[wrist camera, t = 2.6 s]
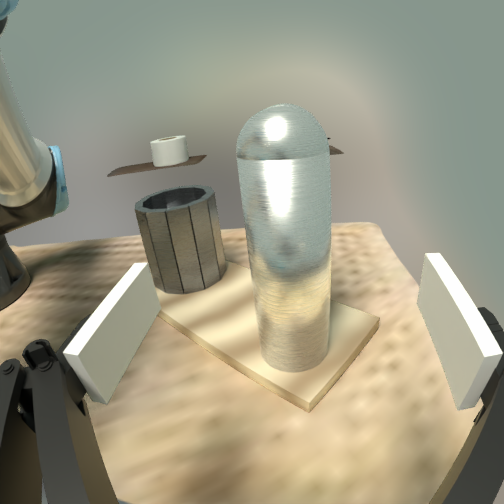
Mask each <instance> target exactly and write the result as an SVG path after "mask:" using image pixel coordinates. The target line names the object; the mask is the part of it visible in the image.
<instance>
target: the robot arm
mask: <svg viewBox="0 0 504 504" xmlns="http://www.w3.org/2000/svg"><path fill="white" fill-rule="evenodd" d="M18 1H19V0H0V38H1V36H2V34H3V33H4V31H5V29H6V26H7V22H8V15H9V14H10V13H11V12H12V11H13V10H14V9H15V8H16V6H17V4H18ZM68 205H69V199H68V193H67V187H66V181H65V175H64V168H63V162H62V157H61V151H60V148H59V147H58V146H49V147H47V146H46V145H45V144H44V143H43V142H41V141H40V140H38V139H36V138H33V137H32V135H31V132H30V130H29V128H28V125H27V123H26V120H25V118H24V115H23V113H22V110H21V108H20V106H19V103H18V100H17V98H16V95H15V92H14V90H13V87H12V84H11V81H10V78H9V76H8V73H7V69H6V66H5V63H4V60H3V57H2V54H1V50H0V310H1V309H3V308H4V307H6V306H8V305H9V304H11V303H12V302H13V301H15V300H16V299H17V298H18V297H19V296H20V295H21V294H22V293H23V292H24V291H25V290H26V288H27V287H28V285H29V283H30V276H29V274H28V272H27V269H26V267H25V266H24V265H23V263H22V262H21V261H20V260H19V258H18V257H17V256H16V254H15V253H14V252H13V251H12V249H11V248H10V247H9V245H8V243H7V241H6V238H5V235H4V234H5V233H8V232H11V231H13V230H16V229H18V228H21V227H23V226H26V225H29V224H31V223H34V222H37V221H39V220H42V219H45V218H48V217H54V216H55V215H56V214H58V213H61V212H63V211H65V210H66V209H67V208H68ZM417 305H418V307H419V310H420V312H421V314H422V316H423V319H424V321H425V324H426V326H427V328H428V331H429V333H430V336H431V338H432V341H433V343H434V346H435V348H436V351H437V354H438V356H439V359H440V361H441V364H442V367H443V370H444V372H445V375H446V378H447V381H448V384H449V387H450V390H451V393H452V396H453V399H454V402H455V405H456V408H457V411H458V410H463V409H468V408H472V407H475V405H476V404H477V402H478V400H479V399H480V397H481V399H482V401H483V404H484V405H483V407H482V408H481V410H480V412H479V413H478V415H477V416H476V418H475V419H474V421H473V422H475V423H474V425H473V427H472V430H471V432H470V434H469V436H468V438H467V440H466V442H465V444H464V446H463V447H462V449H461V451H460V453H459V455H458V457H457V459H456V460H455V462H454V464H453V466H452V467H451V469H450V471H449V473H448V474H447V476H446V478H445V479H444V481H443V482H442V484H441V486H440V487H439V489H438V490H437V492H436V494H435V495H434V497H433V498H432V500H431V501H430V503H429V504H493V501H494V499H495V497H496V495H497V493H498V491H499V488H500V487H501V484H502V482H503V480H504V332H503V329H502V328H501V326H500V325H499V323H498V321H497V320H496V318H495V316H494V315H493V314H492V313H491V312H490V311H488V310H487V309H486V308H485V307H482V308H476V306H475V304H474V303H473V301H472V300H471V298H470V297H469V295H468V294H467V292H466V290H465V289H464V287H463V286H462V284H461V283H460V281H459V280H458V278H457V277H456V276H455V274H454V273H453V271H452V270H451V268H450V267H449V265H448V264H447V263H446V261H445V260H444V258H443V257H442V256H441V254H440V253H428V254H425V259H424V265H423V271H422V277H421V283H420V289H419V294H418V299H417ZM160 310H161V306H160V302H159V299H158V296H157V293H156V289H155V286H154V283H153V279H152V276H151V272H150V269H149V265H148V263H134V264H133V266H132V267H131V268H130V269H129V270H128V271H127V273H126V274H125V275H124V276H123V277H122V279H121V280H120V281H119V282H118V283H117V285H116V286H115V287H114V288H113V289H112V291H111V292H110V293H109V294H108V295H107V297H106V298H105V299H104V300H103V302H102V303H101V304H100V305H99V306H98V308H97V309H96V310H95V311H94V313H93V314H90V315H88V316H87V317H86V318H84V319H83V320H82V321H81V322H80V323H79V324H78V325H77V327H76V328H75V330H73V332H72V333H71V334H70V335H71V336H69V337H68V338H67V339H66V341H65V342H64V343H63V344H62V346H61V347H60V348H59V350H58V351H57V352H56V354H55V352H54V351H53V349H52V347H51V345H50V343H49V342H48V341H47V340H45V339H39V340H35V341H33V342H32V343H30V344H29V345H28V346H26V348H25V349H24V351H23V353H22V356H23V358H24V359H25V361H26V362H27V364H28V365H29V367H23V366H22V365H21V363H20V362H19V360H17V359H9V360H6V361H5V362H3V363H2V365H1V366H0V504H42V503H41V502H42V501H41V499H42V497H41V496H42V478H43V483H44V488H45V492H46V497H47V501H48V504H119V503H118V500H117V498H116V495H115V493H114V490H113V488H112V485H111V482H110V480H109V477H108V474H107V471H106V468H105V466H104V463H103V460H102V457H101V454H100V450H99V447H98V444H97V441H96V437H95V434H94V431H93V427H92V423H91V420H90V416H89V412H88V408H87V404H86V402H85V400H84V399H83V397H84V395H85V393H86V392H87V393H88V395H89V396H90V398H91V399H92V401H95V402H99V403H103V404H108V402H109V400H110V398H111V396H112V395H113V393H114V391H115V389H116V387H117V385H118V384H119V382H120V380H121V378H122V376H123V374H124V373H125V371H126V369H127V367H128V365H129V364H130V362H131V360H132V358H133V356H134V355H135V353H136V351H137V349H138V348H139V346H140V344H141V342H142V341H143V339H144V337H145V335H146V334H147V332H148V330H149V328H150V327H151V325H152V323H153V321H154V320H155V318H156V316H157V315H158V313H159V311H160ZM18 405H19V406H20V407H21V410H20V413H19V412H18Z"/></svg>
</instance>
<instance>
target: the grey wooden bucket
mask: <svg viewBox="0 0 504 504" xmlns="http://www.w3.org/2000/svg"><path fill="white" fill-rule="evenodd" d="M135 212H136V217H137V220H138V225H139V229H140V233H141V237H142V241H143V245H144V248H145V252H146V256H147V259H148V263H149V267H150V270H151V274H152V277H153V281H154V284H155V287H157V288H158V289H160V290H161V291H163V292H164V293H167V294H180V295H184V294H185V295H186V294H190V293H194V292H198V291H202V290H204V289H207V288H209V287H211V286H212V285H214V284H216V283H217V282H219V281H220V280H221V279H222V277H223V276H224V274H225V272H226V270H227V269H226V262H225V256H224V250H223V244H222V238H221V231H220V225H219V218H218V212H217V206H216V199H215V192H214V190H213V189H212V188H211V187H208V186H201V185H191V186H181V187H180V186H179V187H175V188H170V189H166V190H163V191H159V192H156V193H153V194H151V195H148V196H146V197H144V198H143V199H142V200H140V201H138V202H137V203H136V204H135Z"/></svg>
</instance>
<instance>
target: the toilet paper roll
mask: <svg viewBox="0 0 504 504" xmlns="http://www.w3.org/2000/svg"><path fill="white" fill-rule="evenodd" d="M150 144H151V151H152V156H153V163H154V166H156V167H162V166H170V165H175V164H179V163H182V162H185V161H187V160H188V159H189V155H188V148H187V142H186V136H174V137H168V138H162V139H159V140H155V141H152V142H150Z"/></svg>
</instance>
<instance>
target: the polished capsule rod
mask: <svg viewBox="0 0 504 504" xmlns="http://www.w3.org/2000/svg"><path fill="white" fill-rule="evenodd" d="M236 154H237V164H238V172H239V181H240V188H241V197H242V205H243V212H244V222H245V230H246V238H247V246H248V254H249V263H250V271H251V279H252V287H253V295H254V303H255V311H256V319H257V327H258V335H259V343H260V351H261V356H262V358H263V360H264V361H265V362H266V363H267V364H268V365H269V366H271V367H272V368H274V369H276V370H279V371H283V372H292V373H294V372H303V371H306V370H309V369H312V368H314V367H315V366H317V365H319V364H320V363H321V362H322V361H323V360H324V358H325V357H326V355H327V351H328V338H329V319H330V292H331V184H330V155H329V144H328V140H327V137H326V134H325V132H324V130H323V128H322V127H321V125H320V124H319V122H318V121H317V120H316V119H315V117H314V116H313V115H312V114H311V113H310V112H308V111H307V110H306V109H304V108H302V107H300V106H297V105H293V104H277V105H274V106H271V107H269V108H266V109H264V110H262V111H260V112H258V113H256V114H255V115H254V116H253V117H251V118H250V119H249V120H248V121H247V122H246V124H245V125H244V126H243V128H242V130H241V132H240V134H239V137H238V140H237V146H236Z"/></svg>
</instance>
